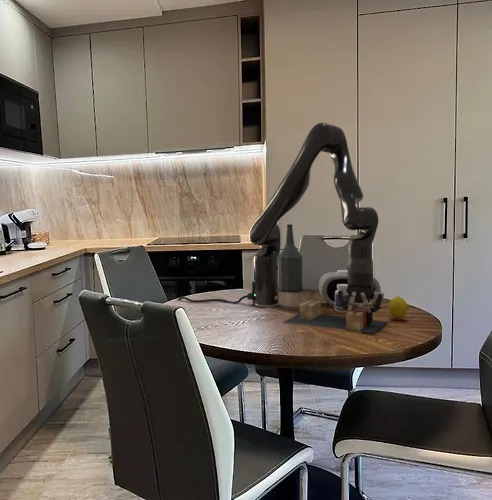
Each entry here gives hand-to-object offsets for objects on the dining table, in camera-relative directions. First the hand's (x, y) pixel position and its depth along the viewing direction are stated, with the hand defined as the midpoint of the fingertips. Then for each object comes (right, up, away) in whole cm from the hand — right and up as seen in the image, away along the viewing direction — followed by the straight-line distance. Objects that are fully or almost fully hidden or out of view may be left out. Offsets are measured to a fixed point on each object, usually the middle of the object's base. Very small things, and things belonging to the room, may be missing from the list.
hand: (360, 322), depth 156 cm
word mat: (-6, -1, +5) cm, 8 cm away
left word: (-12, 0, +13) cm, 17 cm away
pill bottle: (+3, +1, +21) cm, 21 cm away
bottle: (-3, +5, +65) cm, 65 cm away
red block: (0, -1, 0) cm, 1 cm away
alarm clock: (+9, +2, +29) cm, 31 cm away
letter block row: (0, -1, 0) cm, 1 cm away
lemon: (+15, 0, +6) cm, 16 cm away
